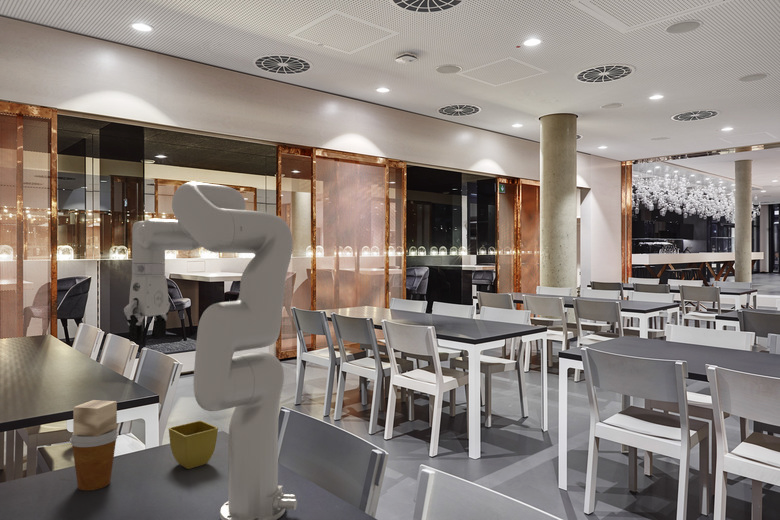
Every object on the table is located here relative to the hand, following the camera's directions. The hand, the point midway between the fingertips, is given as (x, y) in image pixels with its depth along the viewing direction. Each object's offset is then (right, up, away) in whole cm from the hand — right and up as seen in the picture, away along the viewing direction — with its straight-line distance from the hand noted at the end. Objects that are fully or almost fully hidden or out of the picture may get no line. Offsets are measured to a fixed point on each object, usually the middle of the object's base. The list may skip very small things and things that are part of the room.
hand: (148, 338), depth 134 cm
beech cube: (-5, -18, -15) cm, 24 cm away
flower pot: (+13, -31, -3) cm, 33 cm away
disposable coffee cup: (-5, -31, -15) cm, 34 cm away
